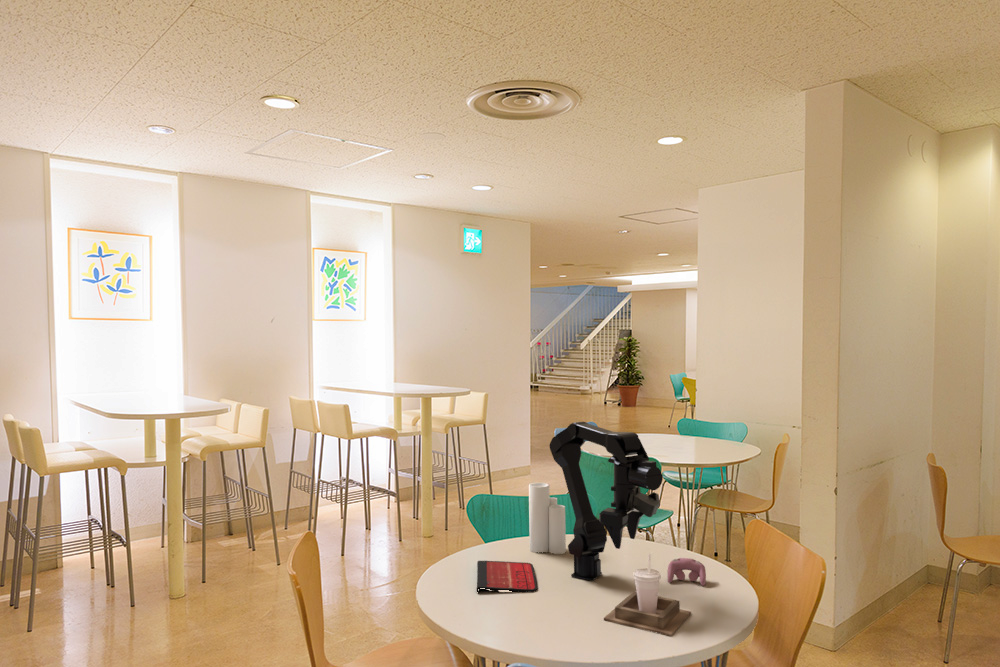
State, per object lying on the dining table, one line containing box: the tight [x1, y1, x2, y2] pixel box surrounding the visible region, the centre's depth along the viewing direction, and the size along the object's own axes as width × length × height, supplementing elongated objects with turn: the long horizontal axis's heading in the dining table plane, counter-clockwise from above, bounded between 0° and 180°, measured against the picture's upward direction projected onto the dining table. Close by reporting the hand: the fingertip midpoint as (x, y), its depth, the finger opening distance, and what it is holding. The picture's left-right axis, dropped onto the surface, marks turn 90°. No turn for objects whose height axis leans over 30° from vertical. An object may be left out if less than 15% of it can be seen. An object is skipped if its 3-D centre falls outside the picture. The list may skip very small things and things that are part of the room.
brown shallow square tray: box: [603, 591, 692, 637], centre depth 155 cm, size 16×14×3 cm
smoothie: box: [632, 553, 662, 614], centre depth 155 cm, size 6×6×14 cm
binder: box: [476, 560, 538, 593], centre depth 181 cm, size 16×2×21 cm
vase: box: [528, 482, 567, 555], centre depth 205 cm, size 11×7×20 cm, turn 79°
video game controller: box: [667, 557, 707, 587], centre depth 177 cm, size 10×5×7 cm, turn 72°
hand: (625, 543), depth 169 cm, fingers open, 9 cm apart
